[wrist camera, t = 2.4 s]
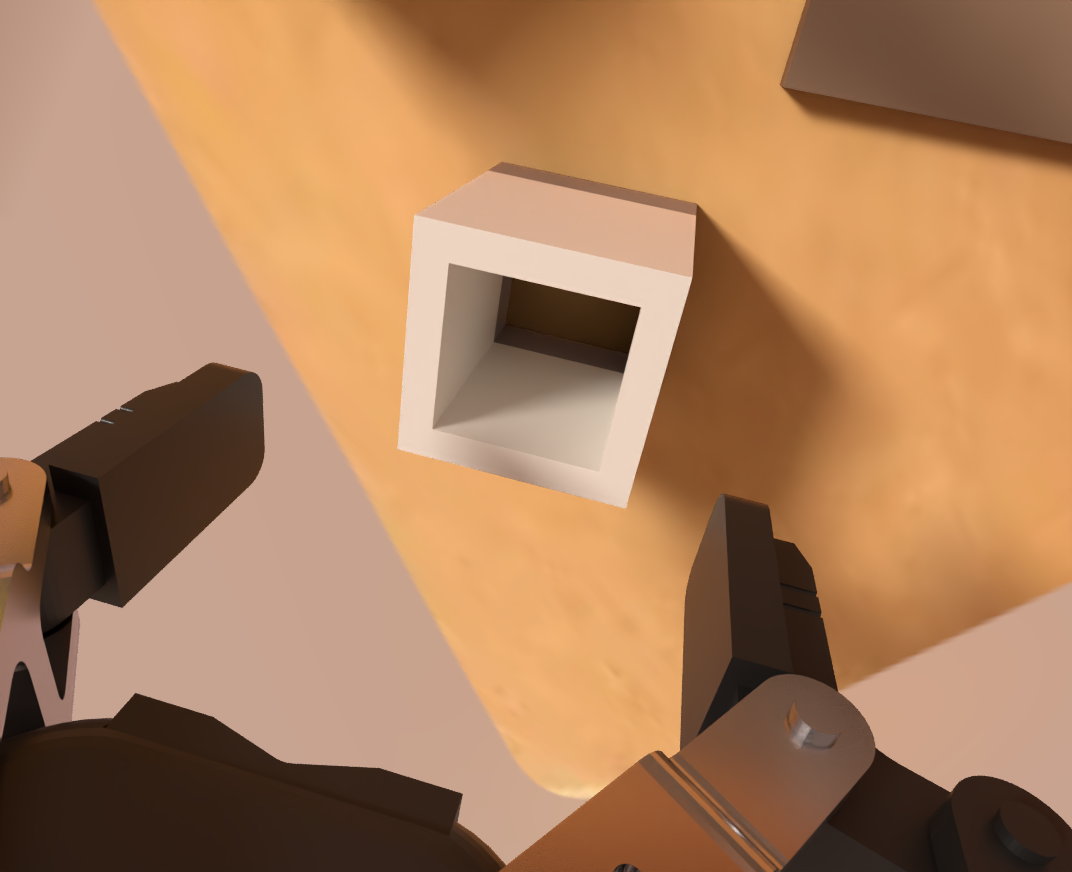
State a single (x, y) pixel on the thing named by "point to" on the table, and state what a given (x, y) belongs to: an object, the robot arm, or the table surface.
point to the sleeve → (531, 357)
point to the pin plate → (943, 59)
